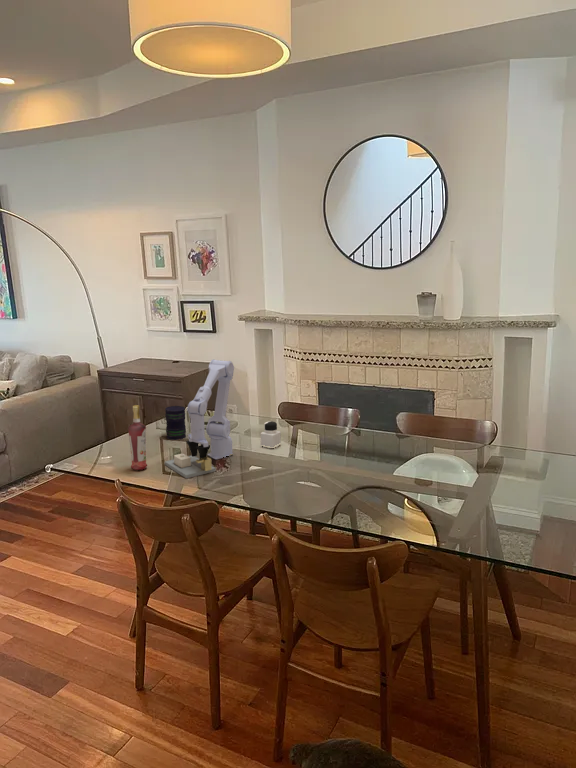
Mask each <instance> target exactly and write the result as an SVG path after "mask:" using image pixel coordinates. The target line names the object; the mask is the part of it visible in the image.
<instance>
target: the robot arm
mask: <svg viewBox="0 0 576 768" xmlns="http://www.w3.org/2000/svg"><path fill="white" fill-rule="evenodd" d="M234 372H235V366H234V363H233V362H232V361H231V360H219V359H211V360H210V362H209V364H208V374H207V377H206V379H205V382H204V384H203V386H199V388H198V390H197V392H196V394H195V396H194V398H193V400H190V401H189V403H188V404H187V408H186V411H187V413H188V418H190V433H188V434H187V439H188V440H186V444H187V446H188V448H189V451H190V454H191V455H192V457H194V456H196V457H197V456H199V459H201V458H203V457H209V458H211V459H214V460H220V459H224V458H227V457H226V456H229V455H230V454H233V440H232V437H231V436H230V433H231V421H230V420H229V419H228V418H227V417H226V415H227V407H228V402H229V401H228V400H229V392H230V387H231V386H230V385H231V381H232V380H233V378H234ZM217 381H218V385H217V392H216V397H215V398H216V399H215V405H214V406H215V407H214V413H213V415H212V416H211V417H210V418H209V419H208V421H207V425H206V426H205V414H206V412H207V408H208V402H209V400H210V398H211V396H212V393H213V392H212V389H213V387H214V386H215V384H216V382H217ZM205 427H206V429H205ZM205 431H206V432H205ZM205 433H206V434H207V436H208V438H210V444H209V441H207V439H206V437H205V435H206V434H205ZM209 450H210V452H209ZM208 452H209V453H208ZM191 455H190V456H191ZM223 457H224V458H223ZM229 457H230V456H229Z"/></svg>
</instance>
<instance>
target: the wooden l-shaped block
mask: <svg viewBox="0 0 576 768" xmlns="http://www.w3.org/2000/svg"><path fill="white" fill-rule="evenodd" d="M196 462H197V463H201V469H203V470H204V471H208V470H212V466H213V464H212V457H210V456H206V457H203V458H201V459H200V458H199V459H198V460H196Z"/></svg>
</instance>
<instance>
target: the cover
mask: <svg viewBox="0 0 576 768" xmlns="http://www.w3.org/2000/svg"><path fill="white" fill-rule="evenodd" d="M188 456H189V455H187V454H184V453H179V454H174V455H173V460H174V464H176V465H178V466H179V467H181V468H183V467H188V466H191V458H190V457H188Z"/></svg>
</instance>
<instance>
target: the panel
mask: <svg viewBox="0 0 576 768" xmlns="http://www.w3.org/2000/svg"><path fill="white" fill-rule="evenodd" d="M187 456H188V457H190V458H191V466H188V467H183V468H181V467H179V466H178V465H176V464H174V459H170V460H169V459H168V460H166V461H164V465H165V467H167V468H169V469H171V470H172V471H173V472H175V473H177V474H179V476H181V477H183V478H185V479H189V478H193V477H194V478H195V477H198V476H202V475H207V474H210V473H214V472H216V469H217V468H216V467H215V466H213V465H212V470H208V471H204V470H203V469H201V463H197V462H196V460H198V459H200V457H197V456H194V457H192V455H187Z"/></svg>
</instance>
